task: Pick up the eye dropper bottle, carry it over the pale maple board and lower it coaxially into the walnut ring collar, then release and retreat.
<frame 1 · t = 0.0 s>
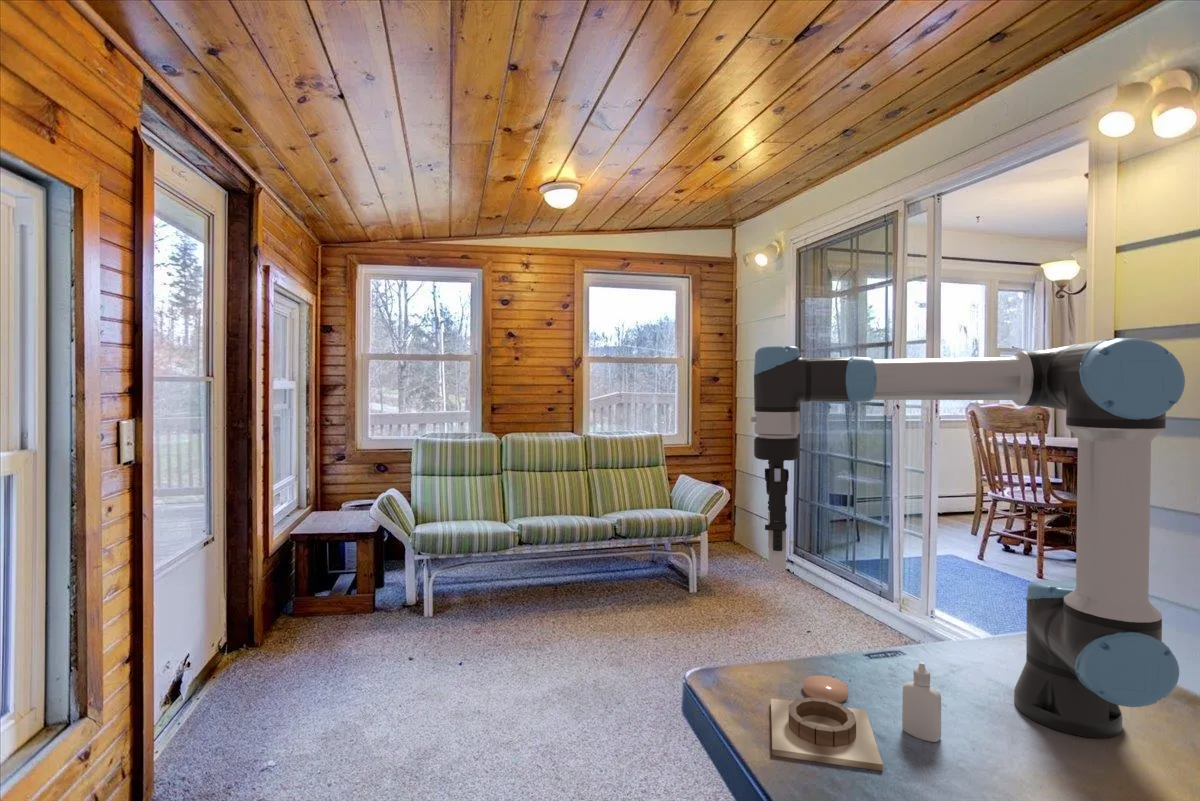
hand: (776, 558, 107), 28 cm above the table, fingers open, 13 cm apart
ring collar: (821, 734, 102), on the table
eye dropper bottle: (921, 735, 102), on the table
peach domed part: (825, 693, 116), on the table
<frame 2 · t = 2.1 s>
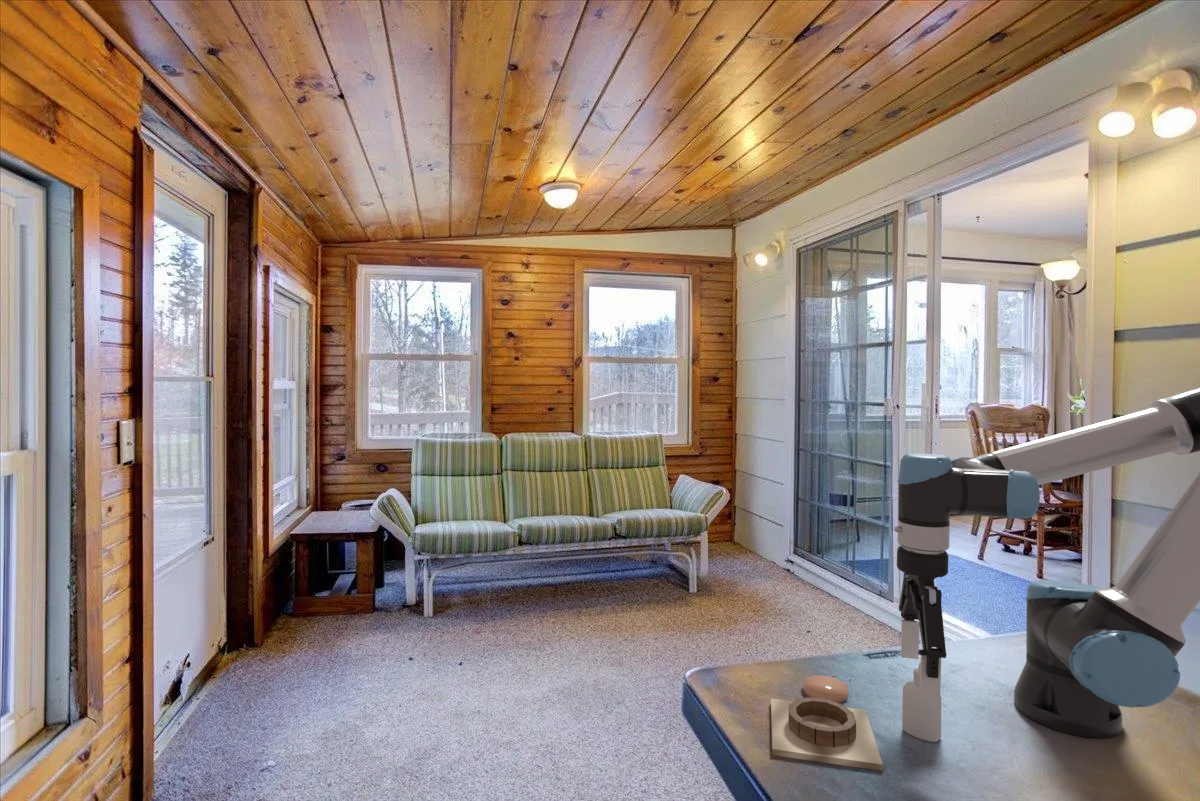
hand: (919, 675, 102), 10 cm above the table, fingers open, 13 cm apart
nothing on the table moved.
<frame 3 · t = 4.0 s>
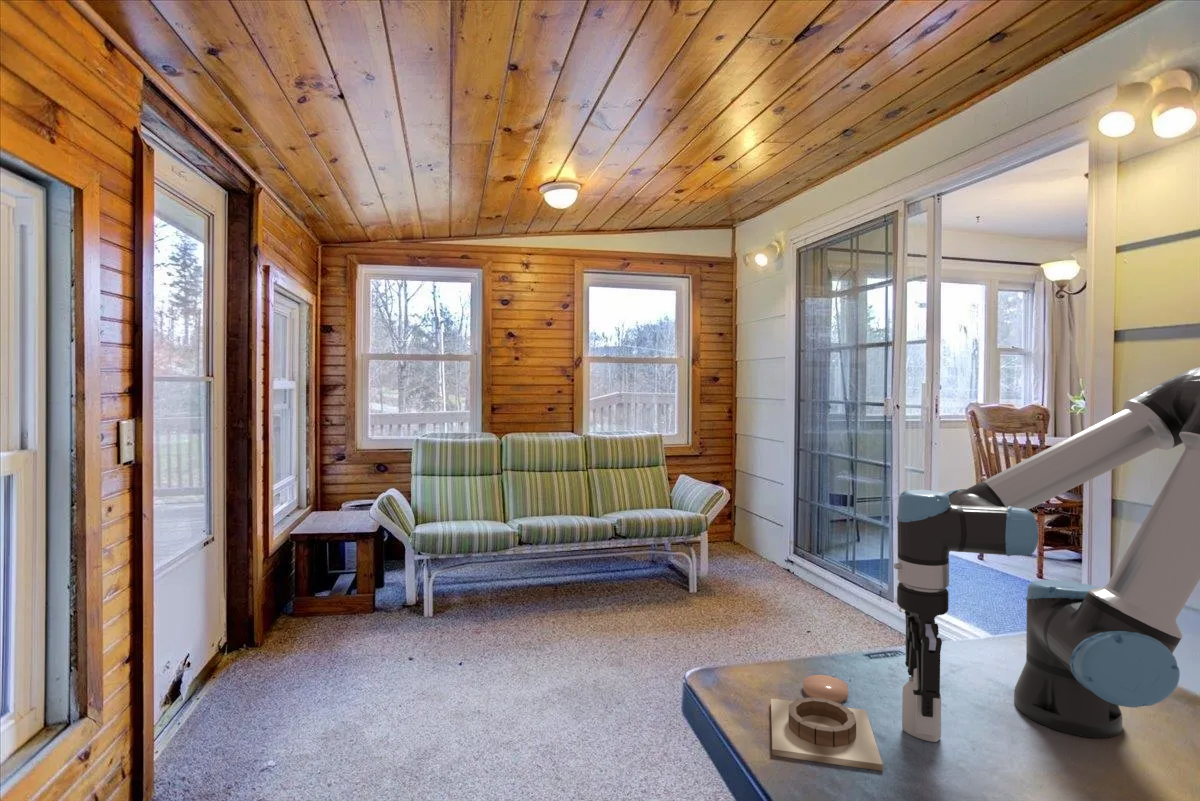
hand: (921, 724, 102), 2 cm above the table, fingers closed on eye dropper bottle, 4 cm apart
eye dropper bottle: (921, 735, 102), on the table, touching gripper
everything else where it was.
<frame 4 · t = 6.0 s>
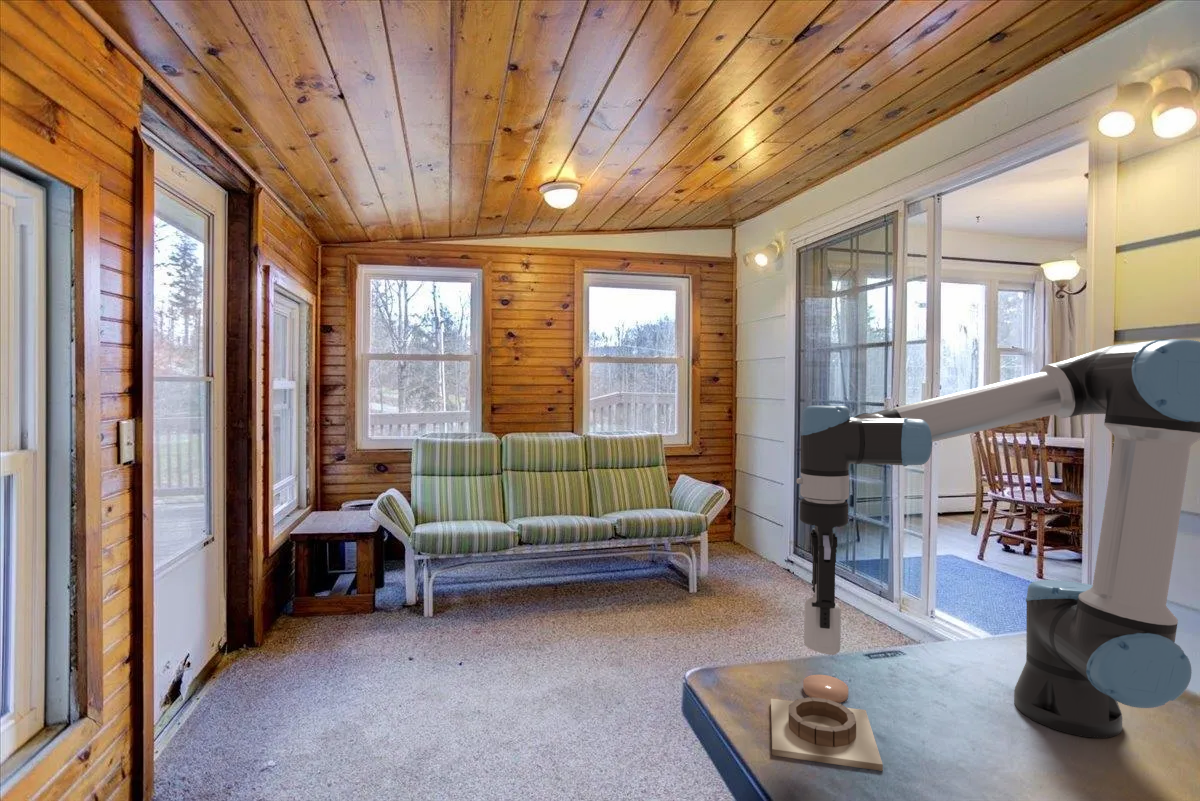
hand: (822, 639, 102), 16 cm above the table, fingers closed on eye dropper bottle, 4 cm apart
eye dropper bottle: (821, 650, 102), point 14 cm above the table, touching gripper
everything else where it was.
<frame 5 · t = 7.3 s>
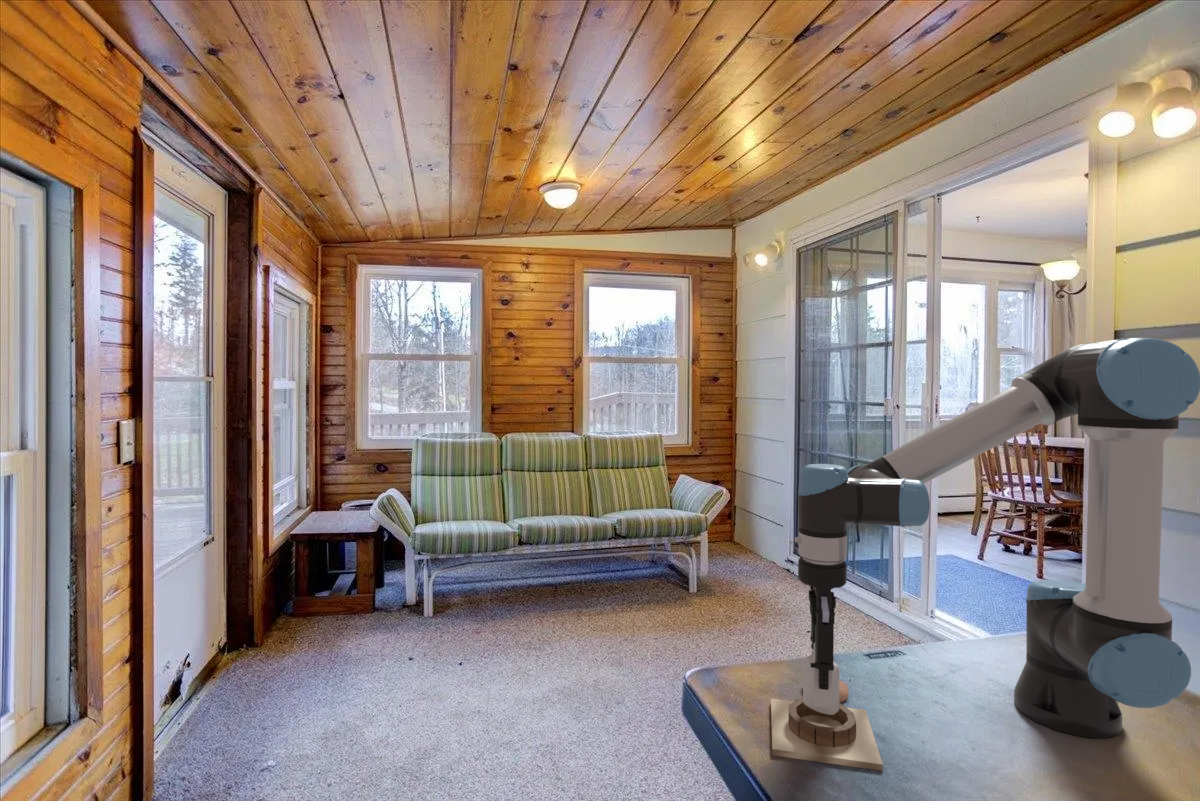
hand: (821, 697, 102), 6 cm above the table, fingers closed on eye dropper bottle, 4 cm apart
eye dropper bottle: (820, 708, 102), point 4 cm above the table, touching gripper
everything else where it was.
when the fingers open (4 cm above the table, at t = 8.2 s): eye dropper bottle drops 1 cm, resting on ring collar.
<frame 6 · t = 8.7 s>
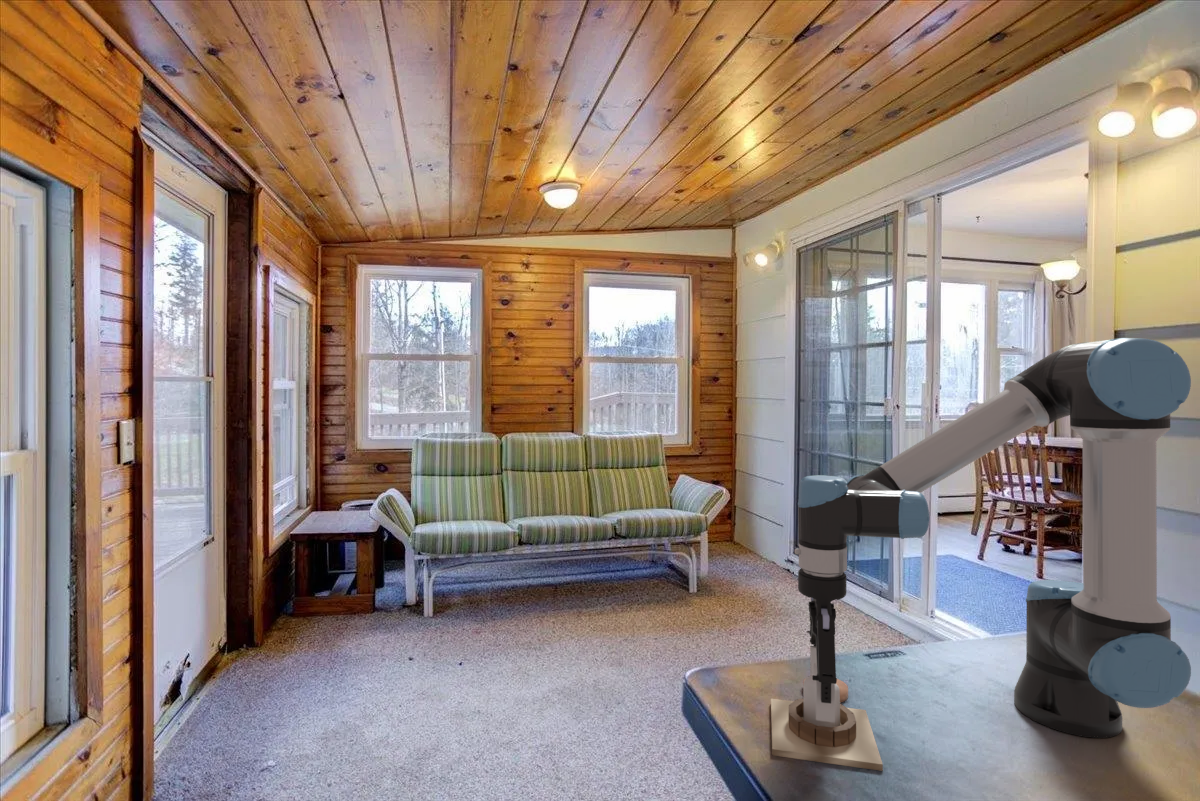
hand: (821, 701, 102), 6 cm above the table, fingers open, 11 cm apart
eye dropper bottle: (821, 729, 103), point 1 cm above the table, touching ring collar
everything else where it was.
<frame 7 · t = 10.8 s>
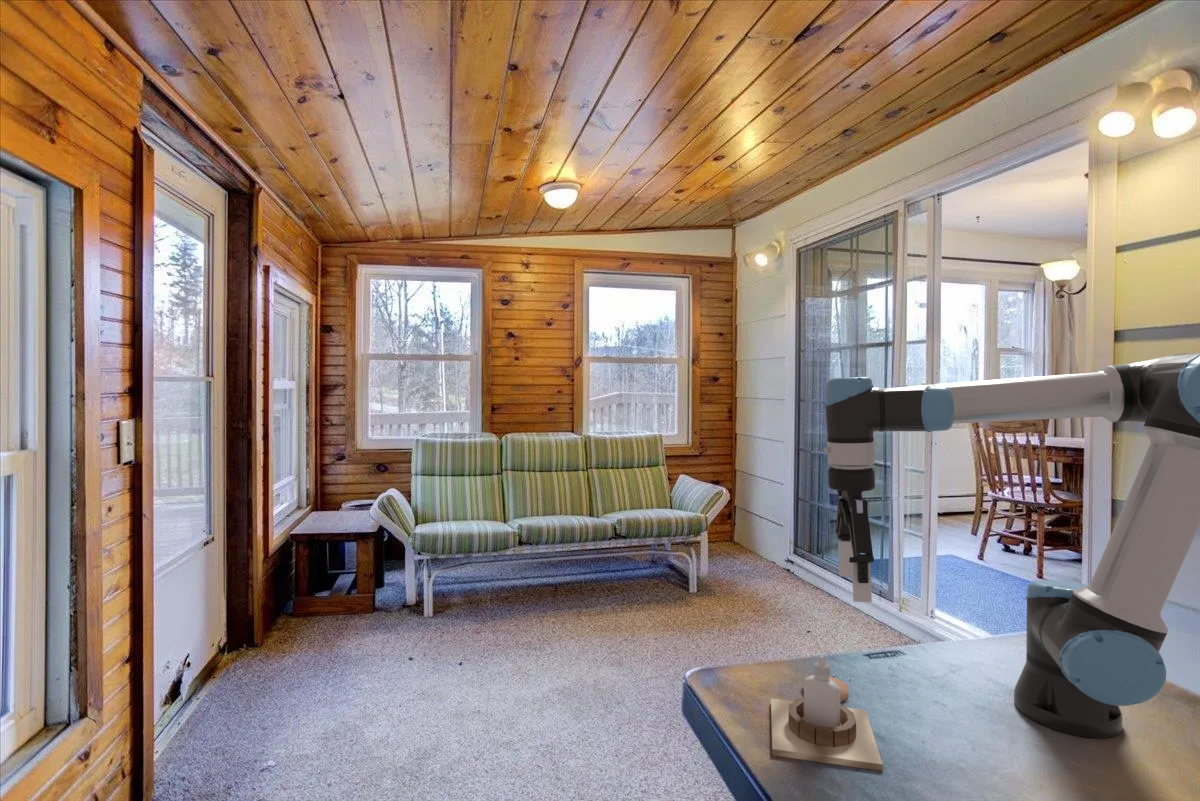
hand: (854, 588, 107), 23 cm above the table, fingers open, 13 cm apart
nothing on the table moved.
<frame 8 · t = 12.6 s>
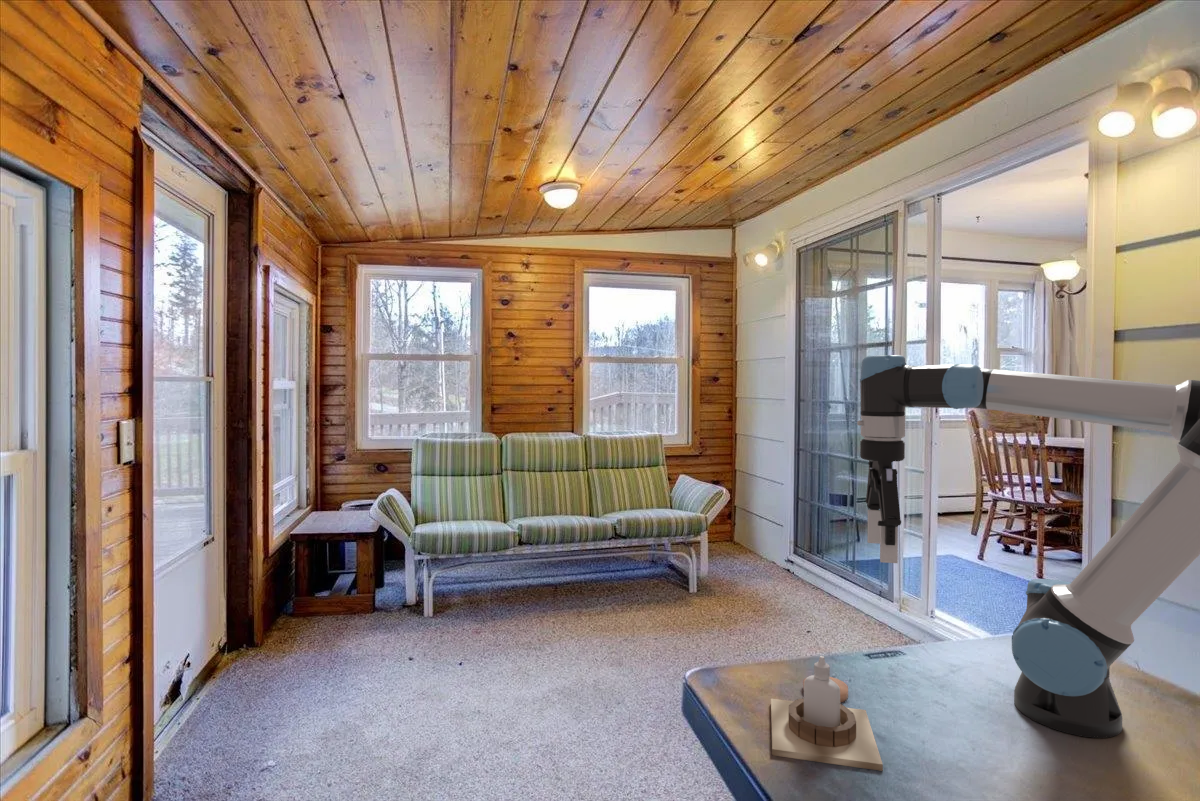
hand: (881, 552, 115), 27 cm above the table, fingers open, 13 cm apart
nothing on the table moved.
at the end: eye dropper bottle 0.1 cm off-centre on the ring collar, point 0.8 cm above the ring collar's base; eye dropper bottle tilted 0°; the gripper is holding nothing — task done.
